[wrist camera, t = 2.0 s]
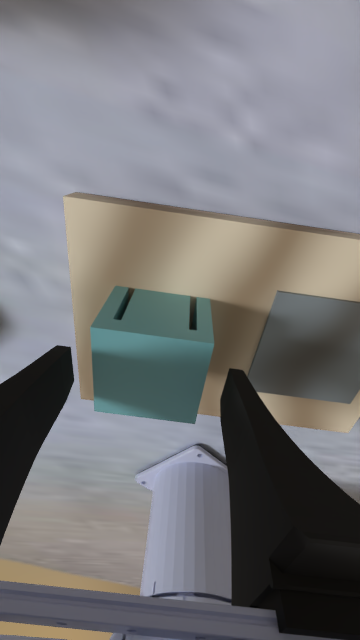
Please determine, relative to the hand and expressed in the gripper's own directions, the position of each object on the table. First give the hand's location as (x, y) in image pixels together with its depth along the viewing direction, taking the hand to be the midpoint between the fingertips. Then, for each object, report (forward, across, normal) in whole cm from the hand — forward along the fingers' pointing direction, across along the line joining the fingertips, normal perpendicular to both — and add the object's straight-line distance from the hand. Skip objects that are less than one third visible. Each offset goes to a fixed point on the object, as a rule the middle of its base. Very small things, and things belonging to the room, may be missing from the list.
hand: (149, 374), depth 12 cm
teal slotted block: (+4, 0, 0) cm, 4 cm away
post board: (+5, -5, 0) cm, 7 cm away
